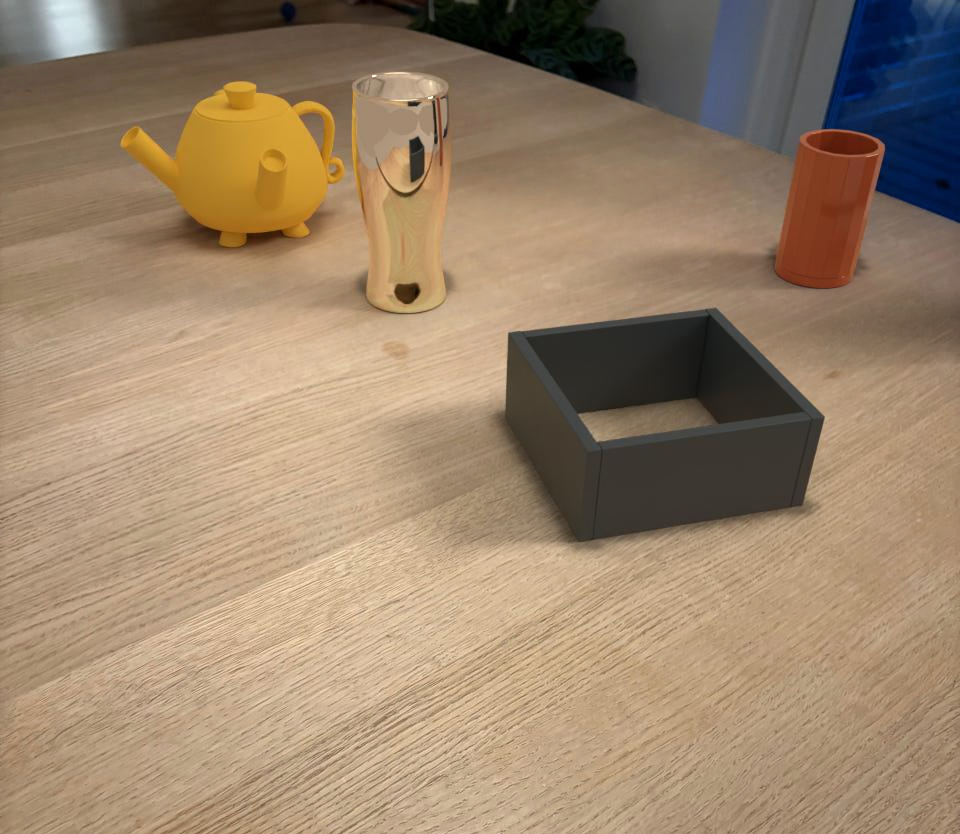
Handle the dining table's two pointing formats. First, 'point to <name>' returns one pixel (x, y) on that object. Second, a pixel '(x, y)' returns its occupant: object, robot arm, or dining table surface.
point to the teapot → (245, 163)
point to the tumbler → (828, 207)
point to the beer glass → (403, 184)
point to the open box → (668, 455)
